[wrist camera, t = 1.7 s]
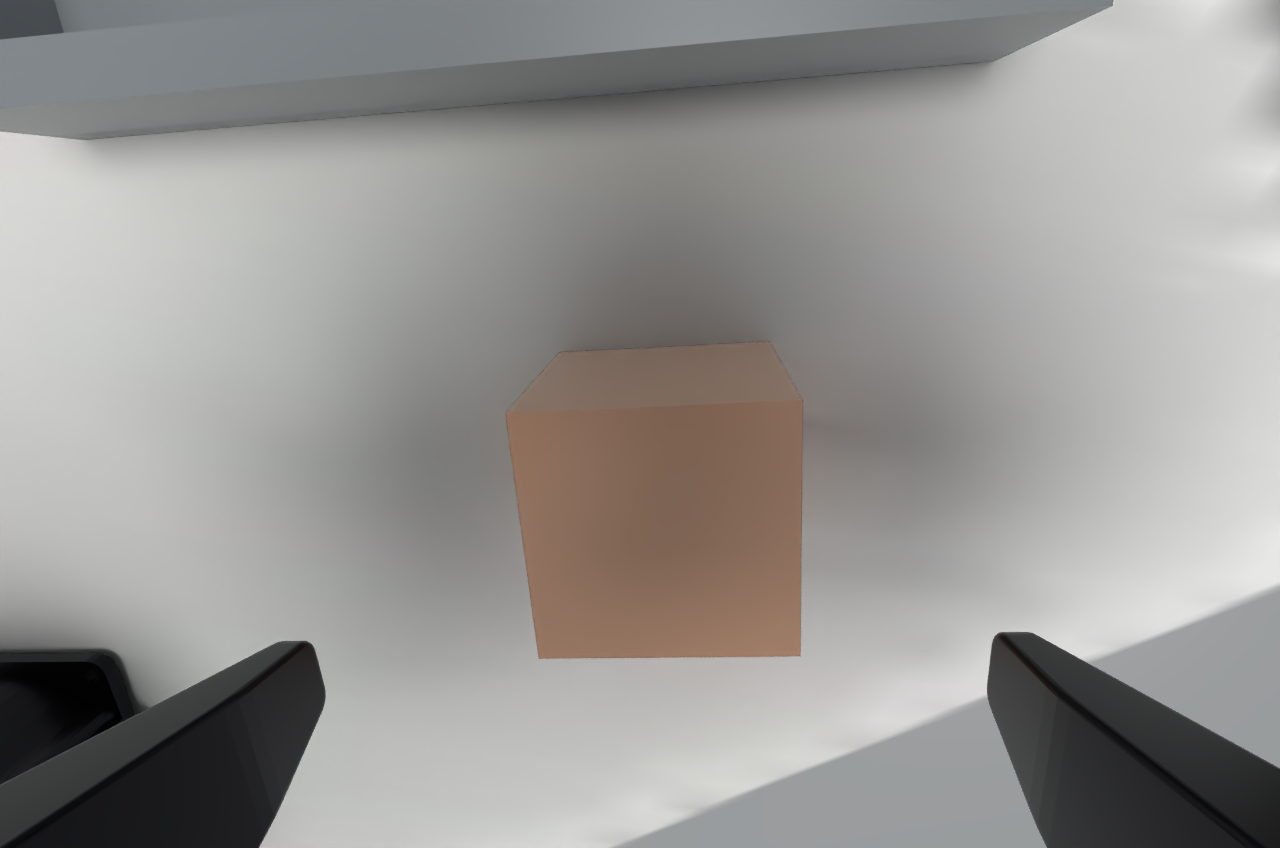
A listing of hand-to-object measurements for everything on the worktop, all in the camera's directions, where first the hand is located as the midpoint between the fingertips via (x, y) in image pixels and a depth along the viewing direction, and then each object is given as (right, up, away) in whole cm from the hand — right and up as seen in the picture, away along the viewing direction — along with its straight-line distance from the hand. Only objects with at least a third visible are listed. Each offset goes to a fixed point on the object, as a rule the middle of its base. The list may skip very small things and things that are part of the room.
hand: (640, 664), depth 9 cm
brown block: (+1, +3, +8) cm, 8 cm away
